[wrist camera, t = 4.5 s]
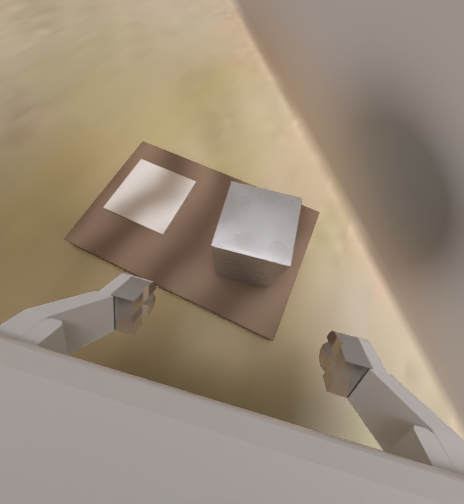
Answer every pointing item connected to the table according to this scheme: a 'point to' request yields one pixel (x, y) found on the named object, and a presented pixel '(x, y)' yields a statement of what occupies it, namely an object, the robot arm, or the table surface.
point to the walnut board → (181, 236)
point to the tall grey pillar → (255, 235)
